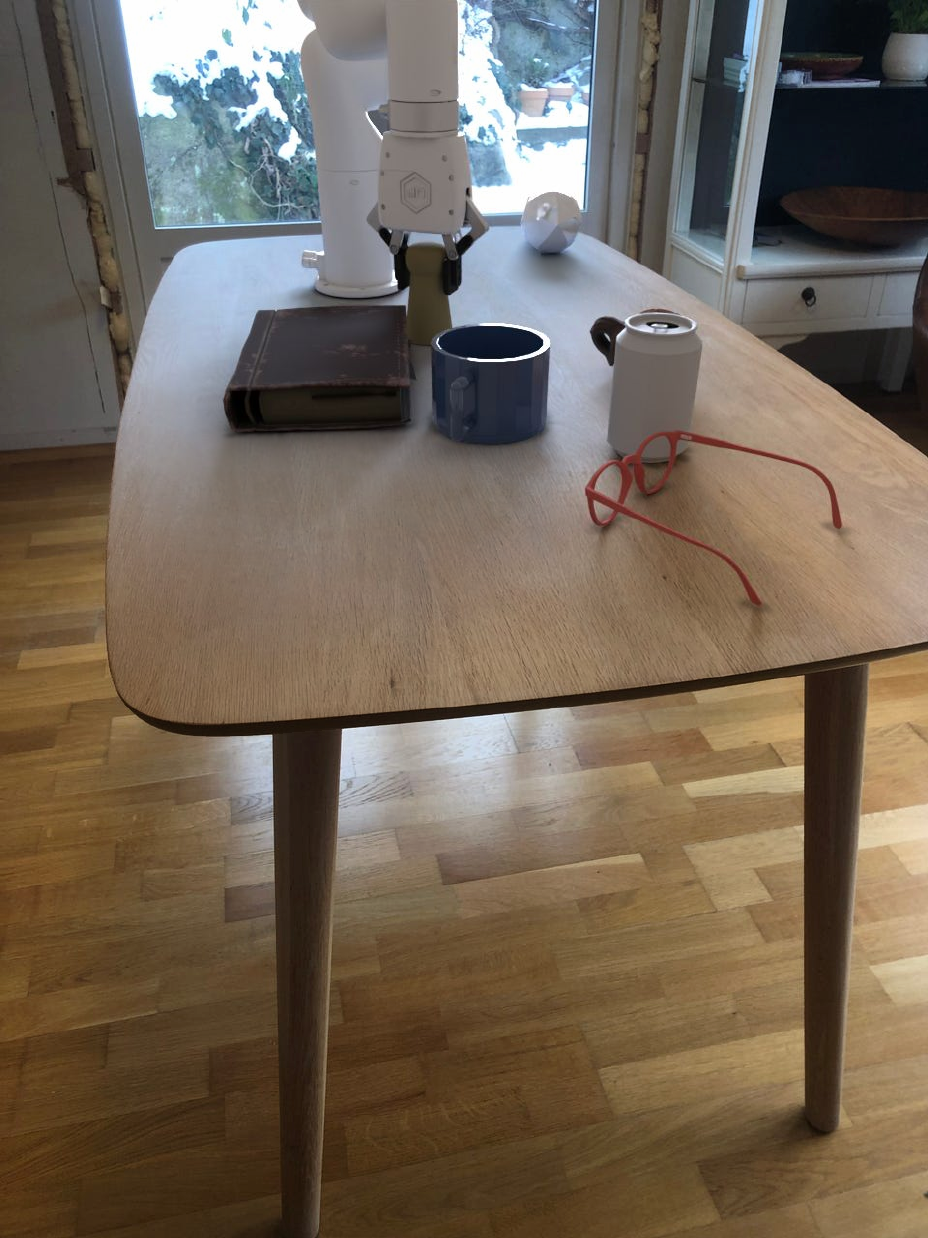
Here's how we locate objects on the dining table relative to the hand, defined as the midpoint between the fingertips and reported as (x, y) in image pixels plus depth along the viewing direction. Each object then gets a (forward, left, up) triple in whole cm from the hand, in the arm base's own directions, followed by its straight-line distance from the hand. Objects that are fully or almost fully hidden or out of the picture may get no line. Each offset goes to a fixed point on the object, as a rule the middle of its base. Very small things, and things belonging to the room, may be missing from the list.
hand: (428, 288), depth 113 cm
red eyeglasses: (+40, -37, -6) cm, 55 cm away
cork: (0, 0, -6) cm, 6 cm away
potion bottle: (-1, +49, -6) cm, 49 cm away
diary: (-3, -19, -6) cm, 20 cm away
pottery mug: (+27, -4, -6) cm, 28 cm away
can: (+32, -23, -6) cm, 40 cm away
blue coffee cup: (+16, -24, -6) cm, 29 cm away
